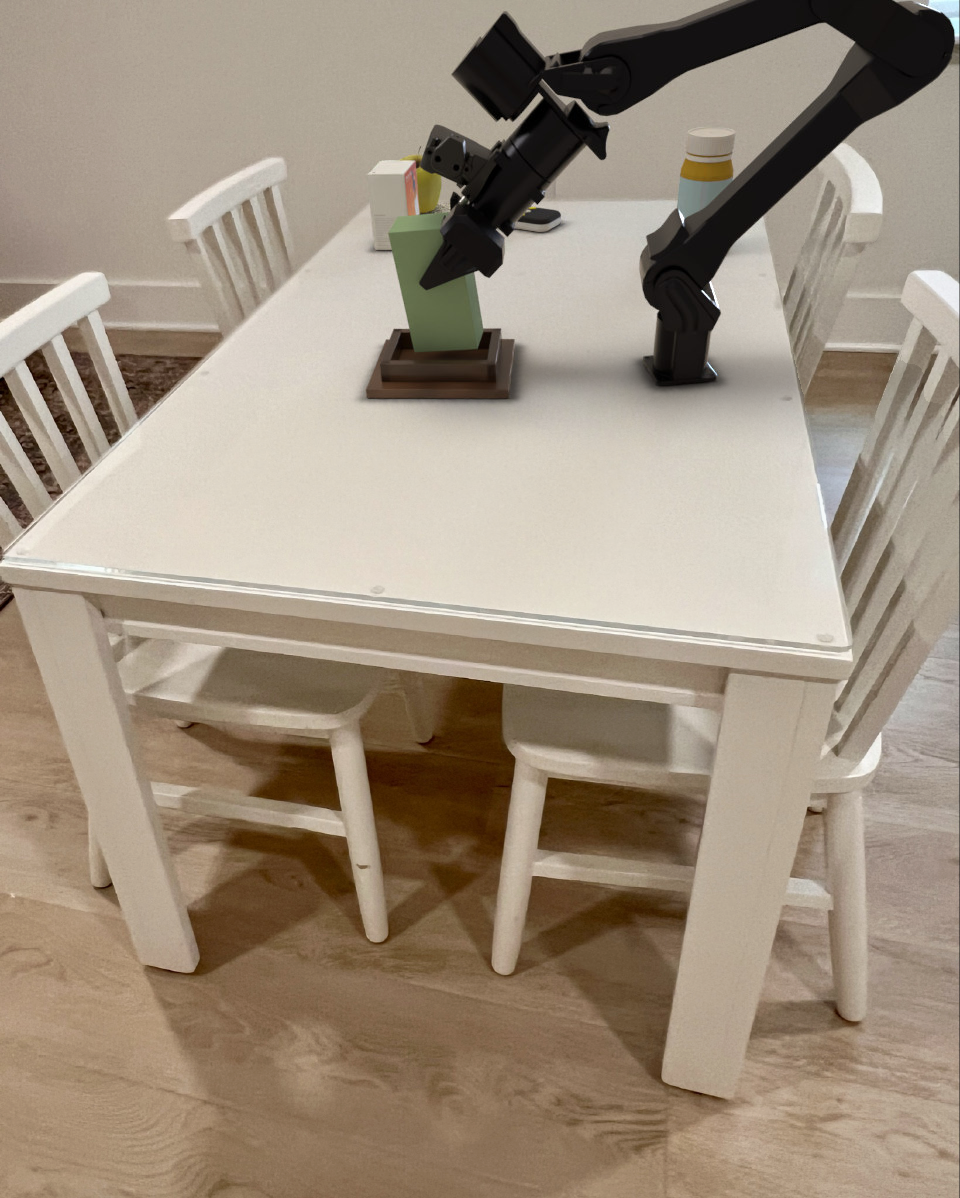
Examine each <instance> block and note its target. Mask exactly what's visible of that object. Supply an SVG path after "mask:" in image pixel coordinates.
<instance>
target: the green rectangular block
mask: <svg viewBox="0 0 960 1198" xmlns="http://www.w3.org/2000/svg"><path fill="white" fill-rule="evenodd" d="M449 212H450V211H446V212H436V213H435V212H434V213H421V214H420V215H411V216H400V217H397V219H396V220H395V222H394V224H393V225H392V227H391V229H390V231H389V232H388V235H389V239H390V244H391V248H392V250H391V253H392V257H393V262H394V266H395V271H396V275H397V279H398V284H399V288H400V293H401V297H402V303H403V307H404V311H405V315H406V321H407V325H408V329H409V330H410V334H411V339H412V343H413V348H414V352H433V351H452V350H471V349H478V346H479V343H480V340H481V337H482V334H483V331H484V330H483V328H484V325H483V318H482V317H483V316H482V312H481V306H480V305H481V304H480V300H479V299H480V298H479V293H478V286H477V281H476V275H475V272H473V273H470V274H468V275H465V276H462V277H459V278H457V279H454V280H452V281H449V282H447V283H444V284H442V285H439V286H437V287H434V288H432V289H429V290H425V289H424V288H423V287H421V286H420V285H419V281H420V279H421V278H422V276H423V274H424V273H425V271H426V269H427V268H428V266H429V264H430V263H431V261H432V259H433V258H434V256H435V254H436V253H437V251H438V249H439V248H440V246H441V244H442V243H443V236H442V234H441V233H440V231H439V230H440V227H441V222H442V220H443V217H444V215H445V216H447V215H448V214H449Z"/></svg>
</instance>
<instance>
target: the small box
mask: <svg viewBox="0 0 960 1198" xmlns="http://www.w3.org/2000/svg"><path fill="white" fill-rule="evenodd" d="M365 177H366V183H367V184H366V185H367V192H368V203H369V210H370V220H371V229H372V236H373V237H372V238H373V245H374V250H375V251H392V248H391V244H390V239H389V235H388V232H389V231H390V229H391V227H392V225H393V224H394V222H395V220H396V219H397V217H400V216H411V215H421V213H419V200H418V186H417V173H416V161H412V160H400V159H399V160H398V159H397V160H395V159H394V160H379V161H378V163H376V165H375V166H374V167H373V168H372V169H371V170H370V171H369V172H368V173H366V175H365Z"/></svg>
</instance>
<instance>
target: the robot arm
mask: <svg viewBox="0 0 960 1198" xmlns="http://www.w3.org/2000/svg"><path fill="white" fill-rule="evenodd" d="M820 24H827V25H828V26H829V27H832V28H833V29H834V30H835V31H837V32H838V33H841V35H843V36H845V37H847V38H848V39H850V40H851V41H852V42H854V43H853V45H852V46H851V47H850V49H849V50H848V51H847V53H846V55H844V58H843V59H842V62H841V63H840V65H839V67H838V68H837V70H836V72H835V74H834V75H833V77H832V78H831V81H830V82H829V83H828V85H827V87H825V89H824V90H823V91H822V92H821V93H820V94H819V95H818V96H817V97H816V98H815V99H814V100H813V101H812V102H811V103H810V104H809V105H808V106H807V107H806V108H805V109H804V110H803V111H801V113H799V115H797V116H796V117H795V119H793V120H792V121H791V122H790V123H789V124H788V126H787V127H785V129H783V130H782V131H781V132H780V133H779V135H777V136H776V137H775V138H774V139H773V140H772V141H771V142H770V143H769V144H768V145H767V146H766V147H765V148H764V149H763V150H761V152H759V154H758V155H757V156H755V158H754V159H753V160H752V161H751V162H750V163H749V164H747V165H746V167H744V169H743V170H742V171H741V172H740V173H739V174H738V175H737V176H735V178H733V181H732V182H731V183H730V184H729V185H728V186H727V187H726V188H725V189H724V190H723V191H722V192H721V193H720V194H719V195H718V196H717V197H715V198H714V199H713V200H712V201H711V202H710V203H709V204H708V205H707V206H706V207H705V208H703V209H702V210H700V211H698V212H696V213H694V214H692V215H690V216H688V217H686V218H684V217H683V215H682V214H681V212H680V210H679V209H678V208H677V207H676V208H674V209H673V210H672V211H671V213H670V214H669V216H668V217H667V218H666V219H665V220H664V222H663V223H662V224H661V225H660V226H659V227H658V228H657V229H656V230H655V231H653V232H651V233H648V234H647V235H646V236H645V239H646V245H645V247H644V248H643V249H642V250H641V253H640V256H639V263H638V266H639V267H638V270H639V276H640V282H641V283H640V284H641V290H642V293H643V297H644V299H645V300H646V302H647V303H648V305H649V306H650V307H652V308H653V309H655V310H657V313H656V321H655V333H654V343H653V355H645V356H643V357H642V363H643V365H644V366H645V368H646V370H648V373H649V374H650V376H651V378H652V379H653V381H654V383H655V384H656V385H658V386H669V385H681V384H693V383H705V382H714V381H717V379H718V374H717V372H715V369H713V368H712V366H711V364H709V362H708V360H709V351H710V343H711V337H712V331H713V330H714V329H715V326H716V324H717V323H718V321H719V319H720V317H721V315H722V313H721V312H722V311H721V308H720V306H719V302H718V299H717V296H716V293H715V291H714V287H713V284H712V280H713V279H714V278H715V276H716V274H717V273H718V271H719V269H720V267H722V266H721V265H722V264H723V262H724V261H725V259H726V257H727V256H728V253H729V252H730V250H731V248H732V247H733V246H734V245H735V244H736V242H737V241H738V240H739V239H740V238H741V237H743V236H744V235H745V234H746V233H747V232H748V231H749V230H750V229H751V228H752V227H753V226H754V225H756V223H757V222H759V221H760V220H761V219H762V218H763V217H764V216H765V215H766V214H768V212H769V211H770V210H771V209H773V208H774V206H776V205H777V204H778V203H779V202H780V201H781V200H782V199H783V198H784V197H785V196H786V195H788V194H789V193H790V192H791V191H792V190H793V189H794V188H796V186H797V185H798V184H799V183H800V182H801V181H802V180H803V179H805V177H807V176H808V175H809V174H810V173H811V172H812V171H813V170H814V169H815V168H816V167H817V166H818V165H819V164H821V163H822V162H823V161H824V160H825V159H826V158H827V157H828V156H829V155H830V154H832V152H833V151H835V149H836V148H838V147H839V146H840V145H841V144H842V143H843V142H844V141H845V140H847V138H848V137H849V136H850V135H852V133H854V132H855V131H856V130H857V129H858V128H859V127H860V126H862V125H863V124H866V123H867V122H869V121H870V120H874V119H875V118H877V117H878V116H880V115H883V114H885V113H886V112H887V113H888V112H889V111H891V110H892V109H895V108H896V107H899V106H900V105H902V104H903V103H904V102H906V101H907V100H908V99H910V98H911V97H914V95H917V93H919V92H920V91H922V90H924V88H926V87H927V86H929V85H930V84H932V83H933V82H935V81H936V80H937V79H938V78H939V77H940V76H941V74H943V72H944V71H945V70H946V69H947V68H948V66H949V64H950V63H951V61H952V58H953V52H954V48H955V43H956V36H955V35H956V34H955V33H956V32H955V28H954V26H953V23H952V21H951V19H950V18H949V16H947V15H946V14H945V13H944V12H942V11H940V10H937V9H935V8H932V7H929V6H928V5H927V6H926V5H924V4H921V3H919V2H916V1H913V0H902V1H895V0H725V1H723V2H721V3H718V4H715V5H713V6H710V7H708V8H705V9H703V10H700V11H697V12H694V13H692V14H689V15H688V16H687V15H686V16H684V17H682V18H678V19H676V20H672V21H666V22H660V23H649V24H641V25H633V26H627V27H622V28H617V29H610V30H604V31H602V32H597V34H595V35H593V36H591V37H590V38H589V39H588V40H586V42H585V43H584V44H583V45H582V48H580V49H574V50H569V51H564V52H556V53H554V54H548V55H546V56H544V55H543V54H542V53H541V52H540V50H539V49H538V48H537V47H536V46H535V45H534V44H533V43H532V41H531V40H530V39H529V38H528V37H527V36H526V35H525V34H524V33H523V31H522V30H521V29H520V26H519V24H518V23H517V21H516V20H515V19H514V18H513V16H512V15H511V14H510V13H509V12H508V11H507V10H504V11H502V13H501V14H500V15H499V16H498V17H497V19H496V20H495V21H494V22H493V24H492V25H491V26H490V27H489V28H488V30H486V32H485V33H484V34H483V36H482V37H481V36H479V37H478V38H477V39H476V40H475V42H474V43H473V45H472V46H471V47H470V48H469V50H468V51H467V52H466V54H465V55H464V57H462V59H461V60H460V62H459V63H458V64H457V66H456V67H455V68H454V70H453V71H452V73H451V74H450V75H451V77H453V79H454V80H455V81H456V82H457V83H458V84H459V85H460V86H461V87H462V88H463V89H464V90H465V91H466V93H468V94H469V95H470V96H471V98H472V99H473V100H474V101H475V102H476V103H477V104H478V105H479V106H480V107H481V108H482V109H483V110H484V111H485V112H486V113H487V114H488V116H490V117H491V119H493V121H494V122H496V123H497V122H499V121H500V120H501V119H503V120H504V121H505V122H507V121H508V120H510V122H511V123H513V122H515V121H517V119H518V118H519V117H520V116H521V115H522V114H523V112H524V111H525V110H526V109H527V108H528V107H529V105H530V104H531V103H532V102H533V101H534V99H535V98H536V97H537V96H538V94H539V95H540V96H541V97H542V98H541V99H540V100H539V102H538V103H537V104H536V105H535V106H534V108H533V109H532V110H530V112H529V113H528V115H526V117H525V118H523V120H522V121H521V123H520V124H519V125H518V126H517V127H516V128H515V130H514V131H513V132H512V133H511V134H510V135H509V136H508V137H507V138H506V139H503V140H500V139H499V140H497V141H496V142H495V144H494V145H493V146H492V147H491V148H487V147H486V146H484V145H481V144H480V143H479V142H477V141H475V140H474V139H471V138H469V137H467V136H465V135H463V134H460V133H459V132H456V131H455V130H452V129H451V128H448V127H446V126H445V125H441V124H434V125H433V127H432V129H431V131H430V133H429V136H428V139H427V142H426V145H425V148H424V150H423V154H422V159H421V162H420V167H421V168H422V169H423V170H425V171H426V172H428V173H431V174H434V173H436V174H438V175H440V176H441V178H442V177H443V178H445V179H446V180H449V181H451V182H454V183H455V184H456V187H457V188H458V189H460V190H461V191H460V195H459V193H457V192H456V191H452V193H451V195H450V199H449V206H450V207H449V208H450V209H449V210H450V211H448V212H449V214H448V215H447V216H445V215H444V217H443V220H442V222H441V227H440V230H439V231H440V233H441V234H442V236H443V243H442V244H441V246H440V248H439V249H438V251H437V253H436V254H435V256H434V258H433V259H432V261H431V263H430V264H429V266H428V268H427V269H426V271H425V273H424V274H423V276H422V278H421V279H420V281H419V285H420V286H421V287H423V288H424V289H425V290H429V289H432V288H434V287H437V286H439V285H442V284H444V283H447V282H449V281H452V280H454V279H457V278H459V277H462V276H465V275H468V274H470V273H473V272H474V273H476V272H479V273H480V274H482V275H483V277H485V278H488V279H490V278H491V277H492V276H493V275H494V274H495V273H496V272H497V271H498V270H499V269H500V268H501V267H502V266H503V264H504V260H505V254H506V242H505V241H506V239H505V237H506V238H509V236H510V235H511V234H512V233H513V232H514V231H515V229H516V228H515V224H516V222H517V221H518V220H519V219H520V217H521V216H522V215H523V214H524V213H525V212H526V211H527V210H528V209H529V208H530V207H533V205H534V203H535V205H537V206H538V205H539V204H540V203H541V202H542V200H544V198H545V197H546V190H547V189H548V188H549V187H551V185H552V184H553V183H554V182H555V181H556V180H557V179H558V177H559V176H560V175H562V173H563V172H564V171H565V170H566V169H567V168H568V167H569V166H570V165H571V164H572V162H574V160H575V159H576V158H577V157H578V156H579V155H580V153H582V151H583V150H584V149H585V148H587V147H588V149H589V150H590V151H591V152H592V153H593V154H594V155H595V156H596V158H598V160H600V161H605V160H606V159H607V156H608V155H607V154H608V153H607V142H608V136H609V133H610V129H611V128H610V123H609V122H608V121H601V122H598V121H595V120H594V119H592V117H591V116H590V115H589V114H588V113H587V111H586V110H584V108H583V107H582V106H581V105H580V104H579V102H578V101H577V100H580V101H581V102H582V104H583V105H584V106H585V107H586V109H588V110H589V111H591V112H593V113H595V114H597V115H598V116H601V117H612V116H616V115H619V114H621V113H623V112H625V111H627V110H629V109H630V108H633V106H635V105H637V104H639V103H641V102H643V101H644V100H646V99H648V98H649V97H651V96H653V95H654V94H656V93H657V92H659V91H660V90H661V89H662V88H664V87H665V86H667V85H669V83H671V82H672V81H674V80H675V79H677V78H679V77H680V76H683V75H684V74H686V73H688V72H690V71H693V70H695V69H697V68H701V67H704V66H706V65H709V64H712V63H714V62H717V61H720V60H722V59H725V58H728V57H731V56H734V55H737V54H739V53H742V52H745V51H747V50H750V49H753V48H755V47H758V46H761V45H764V44H766V43H769V42H773V41H774V40H778V39H781V38H783V37H786V36H789V35H791V34H794V33H796V32H799V31H802V30H804V29H808V28H810V27H814V26H815V25H820ZM559 96H560V97H566V98H571V99H574V100H571V101H570V102H569V103H568V104H567V105H566V103H565V102H563V100H562V99H561V98H559ZM575 99H576V100H575ZM462 188H463V189H462ZM499 231H500V232H501V233H502V234H503V235H505V236H503V235H502V234H501V233H500V232H499Z"/></svg>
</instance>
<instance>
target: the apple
mask: <svg viewBox="0 0 960 1198" xmlns="http://www.w3.org/2000/svg"><path fill="white" fill-rule="evenodd" d="M421 148H422V145H420V146H419V149H418V151H417V154H414V153H413V154H409V155H407V156H404V157H402V158H401V159H399V160H412V161H416V173H417V186H418V200H419V213H420V214H427V213H430V212H433V211H434V210H435V209H436V208H437V206H438V204H439V201H440V197H441V191H442V185H443V184H442V176H440V175H438V174H436V173H434V174H431V173H428V172H426V171H425V170H423V169H422V168H421V167H420V162H421V159H422V156H423V154H422V155H421V154H419V153H420V151H421Z"/></svg>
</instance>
